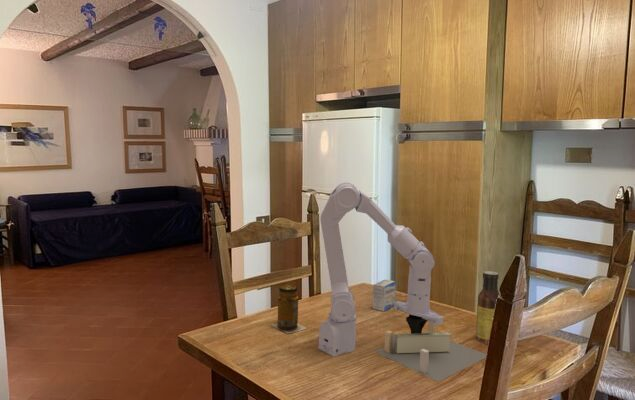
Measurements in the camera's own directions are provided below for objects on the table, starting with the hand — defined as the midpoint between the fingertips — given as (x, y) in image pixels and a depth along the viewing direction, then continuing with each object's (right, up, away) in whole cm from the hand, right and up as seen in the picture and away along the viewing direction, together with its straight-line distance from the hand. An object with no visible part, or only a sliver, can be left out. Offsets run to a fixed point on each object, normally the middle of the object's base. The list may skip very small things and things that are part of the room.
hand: (415, 342), depth 121 cm
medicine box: (-3, +1, +35) cm, 35 cm away
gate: (+1, -2, -2) cm, 3 cm away
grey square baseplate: (+4, -3, -2) cm, 5 cm away
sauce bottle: (+22, -2, +7) cm, 23 cm away
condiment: (-34, 0, +16) cm, 38 cm away
